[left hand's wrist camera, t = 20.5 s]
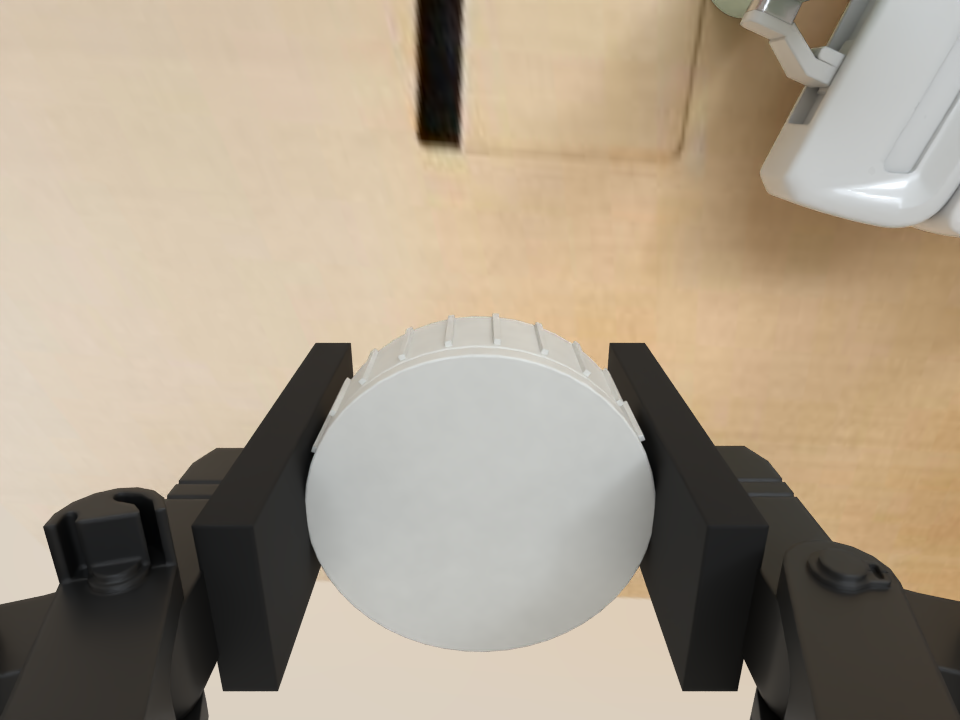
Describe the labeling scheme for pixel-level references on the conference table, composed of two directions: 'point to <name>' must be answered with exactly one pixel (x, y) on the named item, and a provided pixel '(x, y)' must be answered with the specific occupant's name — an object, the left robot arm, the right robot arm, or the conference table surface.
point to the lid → (480, 486)
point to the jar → (735, 6)
